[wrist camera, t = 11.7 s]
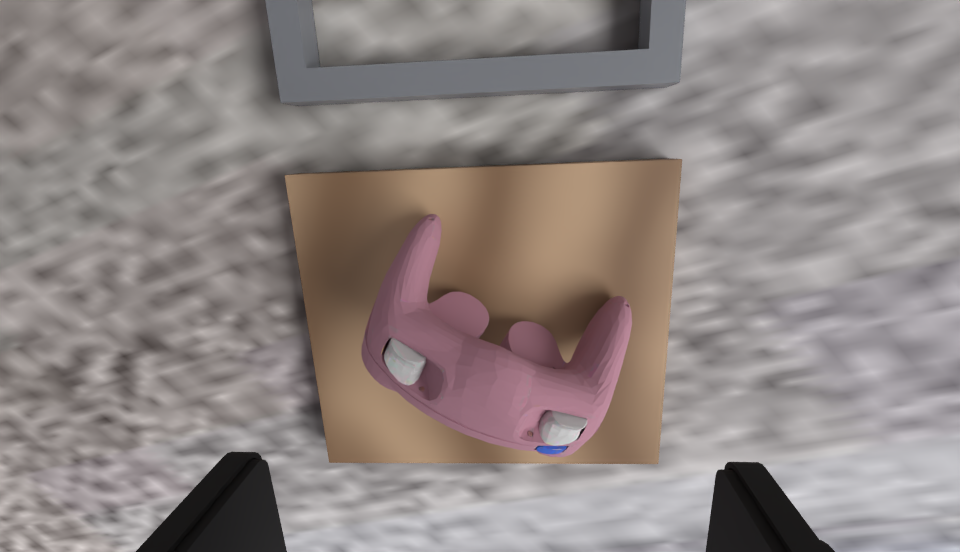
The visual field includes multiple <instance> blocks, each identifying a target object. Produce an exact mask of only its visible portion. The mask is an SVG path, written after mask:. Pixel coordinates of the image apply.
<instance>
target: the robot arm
mask: <svg viewBox="0 0 960 552" xmlns="http://www.w3.org/2000/svg"><path fill="white" fill-rule="evenodd" d="M136 552H287V551H286V546H285V541H284V537H283V532H282V527H281V523H280V518H279V513H278V509H277V504H276V499H275V495H274V490H273V485H272V481H271V476H270V471H269V467H268V463H267V462H266V460H262V458H261V456H260V455H259V454H258V453H256V452H230V453H227V454H226V455H225V456H224V457H223V458H222V459H221V460H220V461H219V462H218V463H217V464H216V465H215V467H214V468H213V469H212V470H211V471H210V472H209V473H208V474H207V475H206V476H205V477H204V478H203V479H202V481H201V482H200V483H199V484H198V485H197V486H196V487H195V488H194V489H193V490H192V491H191V492H190V494H189V495H188V496H187V497H186V498H185V499H184V500H183V501H182V502H181V503H180V504H179V505H178V507H177V508H176V509H175V510H174V511H173V512H172V513H171V514H170V515H169V516H168V517H167V518H166V519H165V521H164V522H163V523H162V524H161V525H160V526H159V527H158V528H157V529H156V530H155V531H154V532H153V534H152V535H151V536H150V537H149V538H148V539H147V540H146V541H145V542H144V543H143V544H142V545H141V546H140V548H139V549H138V550H137V551H136ZM706 552H835V551H834V550H833V549H832V548H831V547H830V546H829V545H828V544H826V543H825V542H823V541H822V540H819V539H818V537H817V536H816V535H815V533H814V532H813V531H812V529H811V528H810V527H809V525H808V524H807V523H806V521H805V520H804V519H803V517H802V516H801V515H800V513H799V512H798V511H797V509H796V508H795V507H794V505H793V504H792V503H791V501H790V500H789V499H788V497H787V496H786V495H785V493H784V492H783V491H782V489H781V488H780V487H779V485H778V484H777V483H776V481H775V480H774V479H773V477H772V476H771V475H770V473H769V472H768V471H767V469H766V468H765V467H764V466H763V465H762V464H761V463H758V462H728V463H727V464H726V465H725V469H724V470H718V471H717V473H716V478H715V486H714V493H713V501H712V508H711V516H710V524H709V531H708V539H707V546H706Z"/></svg>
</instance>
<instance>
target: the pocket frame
mask: <svg viewBox="0 0 960 552" xmlns="http://www.w3.org/2000/svg"><path fill="white" fill-rule="evenodd" d="M265 2H266V9H267V16H268V22H269V29H270V35H271V42H272V49H273V55H274V62H275V68H276V75H277V82H278V88H279V95H280V101H281V103H285V104H290V105H295V106H309V105H328V104H348V103H368V102H388V101H408V100H428V99H447V98H467V97H487V96H507V95H527V94H546V93H566V92H586V91H606V90H626V89H646V88H665V87H669V86H672V85H674V84H677V83H679V82H680V75H681V61H682V48H683V34H684V21H685V7H686V0H640V20H639V41H638V49H637V50H620V51H602V52H584V53H566V54H548V55H531V56H513V57H495V58H477V59H459V60H442V61H424V62H406V63H388V64H370V65H353V66H335V67H320V62H319V54H318V46H317V38H316V30H315V22H314V14H313V7H312V0H265Z"/></svg>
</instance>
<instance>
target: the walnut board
mask: <svg viewBox="0 0 960 552" xmlns="http://www.w3.org/2000/svg"><path fill="white" fill-rule="evenodd" d="M681 167H682V159H669V158H668V159H643V160H618V161H593V162H569V163H544V164H519V165H494V166H469V167H444V168H419V169H394V170H369V171H344V172H319V173H299V174H291V175H285V181H286V187H287V194H288V200H289V207H290V213H291V220H292V226H293V232H294V239H295V245H296V252H297V258H298V264H299V271H300V277H301V284H302V290H303V297H304V303H305V309H306V316H307V322H308V329H309V335H310V342H311V348H312V354H313V361H314V367H315V374H316V380H317V387H318V393H319V399H320V406H321V412H322V419H323V425H324V432H325V438H326V444H327V451H328V457H329V463H557V464H658V460H659V448H660V435H661V422H662V409H663V397H664V384H665V371H666V358H667V346H668V333H669V320H670V308H671V295H672V282H673V269H674V257H675V244H676V231H677V218H678V206H679V193H680V180H681ZM429 214H435V215H437V216H438V217H439V218H440V220H441V228H442V232H441V239H440V246H439V249H438V253H437V256H436V259H435V263H434V266H433V269H432V273H431V276H430V280H429V286H428V293H427V302H428V303H429V304H430V303H432V302H434V301H436V300H438V299H439V298H441V297H442V296H444V295H446V294H448V293H450V292H463V293H466V294H470V295H471V296H473V297H474V298H476V299H478V300H479V301H480V302H481V303H482V304H483V305H484V306H485V308H486V309H487V311H488V314H489V323H488V326H487V327H486V329H485V331H484V333H483V334H482V335H481V336H480V338H479V339H481V340H484V341H487V342H490V343H493V344H496V345H498V346H500V344H501V342H502V341H503V339H504V337H505V336H506V334H507V333H508V331H509V330H510V328H511V327H512V326H513V325H514V324H515V323H517V322H521V321H528V322H534V323H537V324H539V325H541V326H543V327H544V328H546V329H547V330H548V331H549V332H550V333H551V334H552V335H553V337H554V339H555V340H556V343H557V346H558V349H559V351H560V354H561V356H562V358H563V360H564V361H565V362H566V363H568V362H569V361H571V358H572V356H573V354H574V351H575V349H576V347H577V345H578V343H579V341H580V339H581V337H582V335H583V333H584V332H585V330H586V328H587V326H588V324H589V323H590V321H591V320H592V318H593V317H594V316H595V314H596V313H597V311H598V310H599V309H600V308H601V307H602V306H603V305H604V304H605V303H606V302H607V301H608V300H609V299H611V298H613V297H615V296H622V297H624V298H625V299H626V300H627V302H628V303H629V305H630V308H631V313H632V327H631V332H630V338H629V341H628V345H627V349H626V353H625V356H624V360H623V364H622V367H621V371H620V374H619V377H618V381H617V384H616V387H615V390H614V393H613V396H612V399H611V402H610V405H609V408H608V410H607V412H606V415H605V417H604V419H603V421H602V423H601V424H600V427H599V429H598V430H597V432H596V433H595V434H594V435H593V436H592V437H591V438H590V439H589V440H588V441H587V442H585V443H584V444H583V445H582V446H581V447H580V448H579V449H578V450H577V451H575V452H574V453H573V454H571V455H568V456H565V457H549V456H545V455H542V454H540V453H538V452H537V451H526V450H518V449H513V448H508V447H504V446H500V445H495V444H491V443H488V442H485V441H482V440H479V439H477V438H474V437H471V436H468V435H465V434H463V433H461V432H459V431H456V430H454V429H452V428H450V427H448V426H446V425H444V424H442V423H440V422H439V421H437V420H435V419H433V418H431V417H430V416H428V415H426V414H425V413H423V412H422V411H420V410H419V409H417V408H416V407H415V406H413V405H412V404H410V403H409V402H408V401H406V400H405V399H404V398H403V397H402V396H401V395H400V394H399V393H398V392H395V391H393V390H390V389H387V388H386V387H384V386H382V385H381V384H379V383H378V382H377V381H376V380H375V379H374V378H373V377H372V376H371V375H370V373H369V372H368V370H367V369H366V367H365V365H364V363H363V360H362V355H361V350H362V343H363V338H364V334H365V330H366V326H367V323H368V320H369V317H370V314H371V311H372V309H373V306H374V303H375V301H376V298H377V295H378V292H379V289H380V287H381V284H382V282H383V280H384V278H385V275H386V273H387V271H388V270H389V268H390V266H391V264H392V262H393V261H394V259H395V257H396V255H397V254H398V252H399V250H400V248H401V247H402V245H403V243H404V241H405V240H406V238H407V236H408V234H409V233H410V231H411V230H412V229H413V228H414V226H415V225H416V224H417V223H418V222H419V221H420V220H421V219H422V218H424V217H425V216H427V215H429Z"/></svg>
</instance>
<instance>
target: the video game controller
mask: <svg viewBox="0 0 960 552" xmlns="http://www.w3.org/2000/svg"><path fill="white" fill-rule="evenodd" d="M441 232H442V228H441V220H440V218H439V217H438V216H437V215H435V214H429V215H427V216H425V217H424V218H422V219H421V220H420V221H419V222H418V223H417V224H416V225H415V226H414V228H413V229H412V230H411V231H410V233H409V234H408V236H407V238H406V240H405V241H404V243H403V245H402V247H401V248H400V250H399V252H398V254H397V255H396V257H395V259H394V261H393V262H392V264H391V266H390V268H389V270H388V271H387V273H386V275H385V278H384V280H383V282H382V284H381V287H380V289H379V292H378V295H377V298H376V301H375V303H374V306H373V309H372V311H371V314H370V317H369V320H368V323H367V326H366V330H365V334H364V338H363V343H362V350H361V355H362V360H363V363H364V365H365V367H366V369H367V370H368V372H369V373H370V375H371V376H372V377H373V378H374V379H375V380H376V381H377V382H378V383H379V384H381V385H382V386H384V387H386V388H387V389H390V390H393V391H395V392H398V393H399V394H400V395H401V396H402V397H403V398H404V399H405V400H406V401H408V402H409V403H410V404H412V405H413V406H415V407H416V408H417V409H419V410H420V411H422V412H423V413H425V414H426V415H428V416H430V417H431V418H433V419H435V420H437V421H439V422H440V423H442V424H444V425H446V426H448V427H450V428H452V429H454V430H456V431H459V432H461V433H463V434H465V435H468V436H471V437H474V438H477V439H479V440H482V441H485V442H488V443H491V444H495V445H500V446H504V447H508V448H513V449H518V450H526V451H537V452H538V453H540V454H542V455H545V456H549V457H565V456H568V455H571V454H573V453H574V452H575V451H577V450H578V449H579V448H580V447H581V446H582V445H583V444H584V443H585V442H587V441H588V440H589V439H590V438H591V437H592V436H593V435H594V434H595V433H596V432H597V430H598V429H599V427H600V424H601V423H602V421H603V419H604V417H605V415H606V412H607V410H608V408H609V405H610V402H611V399H612V396H613V393H614V390H615V387H616V384H617V381H618V377H619V374H620V371H621V367H622V364H623V360H624V356H625V353H626V349H627V345H628V341H629V338H630V332H631V327H632V313H631V308H630V305H629V303H628V302H627V300H626V299H625V298H624V297H622V296H615V297H613V298H611V299H609V300H608V301H607V302H606V303H605V304H604V305H603V306H602V307H601V308H600V309H599V310H598V311H597V313H596V314H595V316H594V317H593V318H592V320H591V321H590V323H589V324H588V326H587V328H586V330H585V332H584V333H583V335H582V337H581V339H580V341H579V343H578V345H577V347H576V349H575V351H574V354H573V356H572V358H571V361H569V362H568V363H566V362H565V361H564V360H563V358H562V356H561V354H560V351H559V349H558V346H557V343H556V340H555V339H554V337H553V335H552V334H551V333H550V332H549V331H548V330H547V329H546V328H544V327H543V326H541V325H539V324H537V323H534V322H528V321H521V322H517V323H515V324H514V325H513V326H512V327H511V328H510V330H509V331H508V333H507V334H506V336H505V337H504V339H503V341H502V342H501V344H500V346H498V345H496V344H493V343H490V342H487V341H484V340H481V339H479V338H480V336H481V335H482V334H483V333H484V331H485V329H486V327H487V326H488V323H489V314H488V311H487V309H486V308H485V306H484V305H483V304H482V303H481V302H480V301H479V300H478V299H476V298H474V297H473V296H471V295H470V294H466V293H463V292H450V293H448V294H446V295H444V296H442V297H441V298H439V299H438V300H436V301H434V302H432V303H430V304H429V303H428V302H427V293H428V286H429V280H430V276H431V273H432V269H433V266H434V263H435V259H436V256H437V253H438V249H439V246H440V239H441Z"/></svg>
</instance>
